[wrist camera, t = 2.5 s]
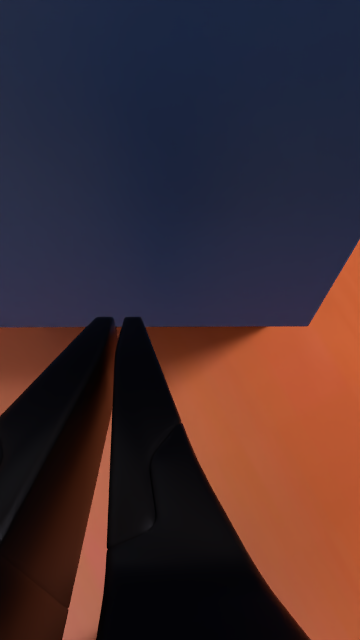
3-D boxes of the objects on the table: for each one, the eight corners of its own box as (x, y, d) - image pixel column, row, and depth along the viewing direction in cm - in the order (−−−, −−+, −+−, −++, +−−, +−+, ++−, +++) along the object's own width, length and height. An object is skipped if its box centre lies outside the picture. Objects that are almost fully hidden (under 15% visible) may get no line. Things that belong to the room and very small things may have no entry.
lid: (-374, -113, 5) (-416, -106, 5) (539, -112, 5) (567, -105, 5) (-13, 315, 16) (-17, 328, 15) (305, 314, 16) (308, 327, 15)
